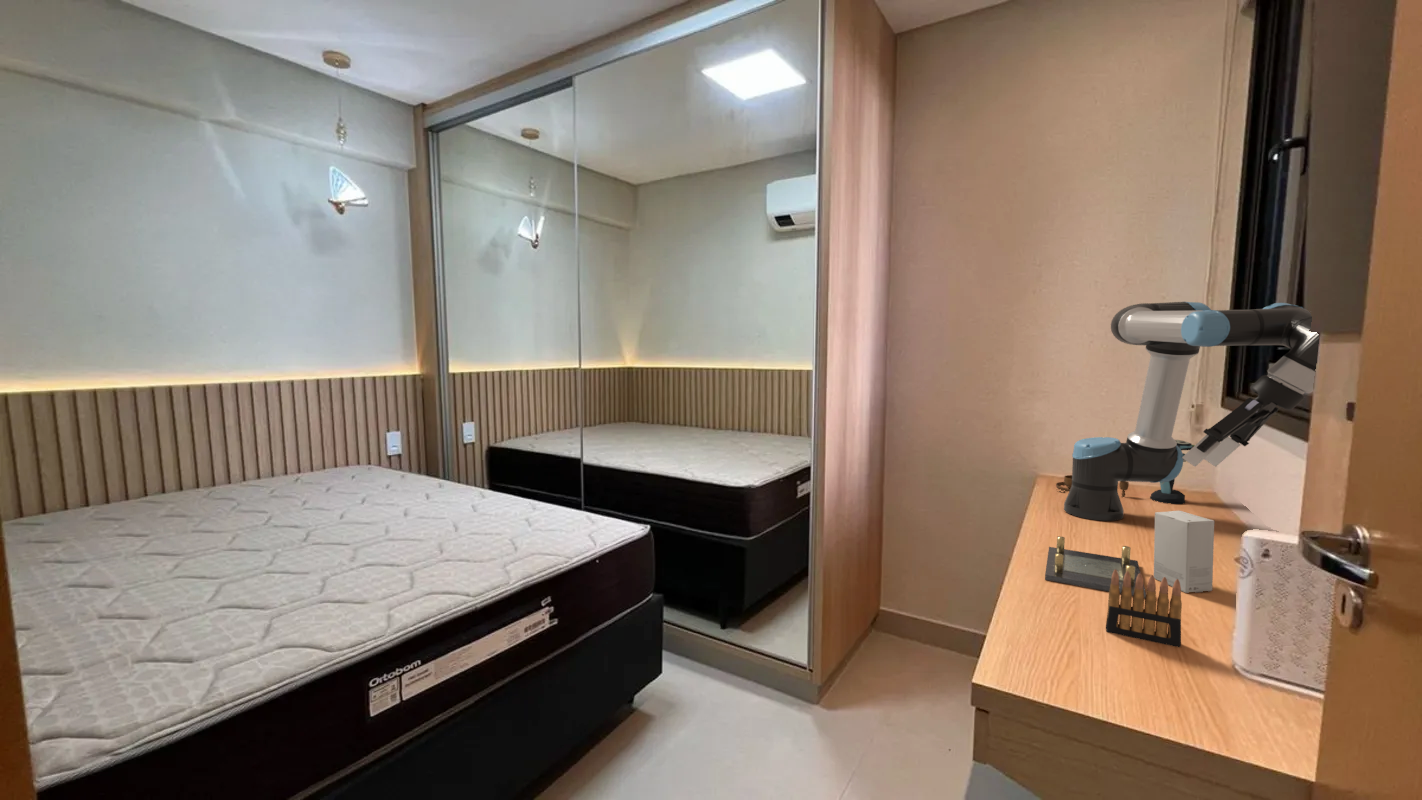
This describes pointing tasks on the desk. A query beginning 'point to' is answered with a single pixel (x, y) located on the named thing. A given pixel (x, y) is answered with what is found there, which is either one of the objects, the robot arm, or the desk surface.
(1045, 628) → the desk surface
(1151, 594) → the ammunition clip
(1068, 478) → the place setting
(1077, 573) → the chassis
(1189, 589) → the skincare box
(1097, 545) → the desk surface
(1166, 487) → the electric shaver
